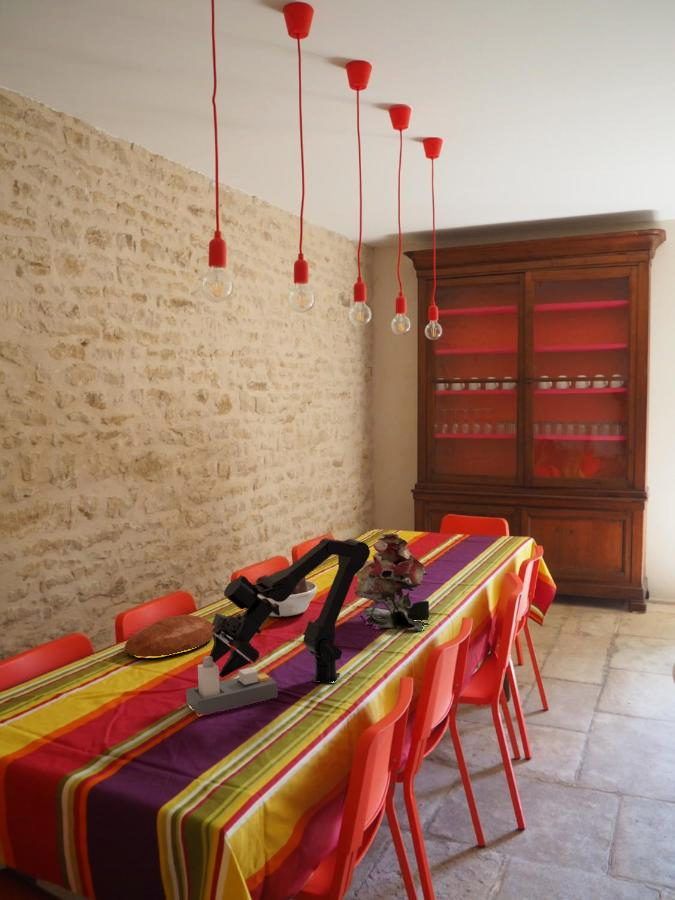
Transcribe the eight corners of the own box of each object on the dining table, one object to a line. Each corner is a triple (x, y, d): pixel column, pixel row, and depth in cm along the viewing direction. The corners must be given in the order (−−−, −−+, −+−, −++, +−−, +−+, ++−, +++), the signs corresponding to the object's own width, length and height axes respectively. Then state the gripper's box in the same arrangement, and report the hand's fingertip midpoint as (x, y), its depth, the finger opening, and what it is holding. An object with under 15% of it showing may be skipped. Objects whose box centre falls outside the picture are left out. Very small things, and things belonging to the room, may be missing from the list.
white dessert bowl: (316, 622, 251) (314, 579, 250) (243, 624, 252) (241, 581, 251) (319, 603, 276) (318, 563, 275) (253, 604, 277) (251, 565, 276)
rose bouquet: (428, 607, 266) (426, 525, 264) (431, 633, 237) (428, 540, 235) (357, 608, 268) (355, 526, 266) (351, 633, 239) (348, 541, 237)
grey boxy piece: (263, 686, 195) (262, 661, 195) (277, 698, 188) (276, 671, 187) (186, 704, 185) (185, 677, 185) (198, 717, 177) (197, 689, 177)
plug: (214, 702, 186) (212, 654, 185) (220, 707, 183) (218, 658, 182) (199, 706, 184) (197, 657, 183) (204, 711, 181) (202, 661, 180)
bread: (108, 656, 224) (106, 628, 224) (179, 627, 252) (178, 602, 251) (163, 668, 213) (162, 637, 212) (232, 636, 240) (231, 609, 240)
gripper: (217, 593, 193) (178, 643, 189) (244, 609, 177) (203, 664, 172) (246, 617, 198) (209, 666, 193) (276, 635, 181) (236, 689, 177)
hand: (213, 670), depth 184 cm, fingers open, 9 cm apart
